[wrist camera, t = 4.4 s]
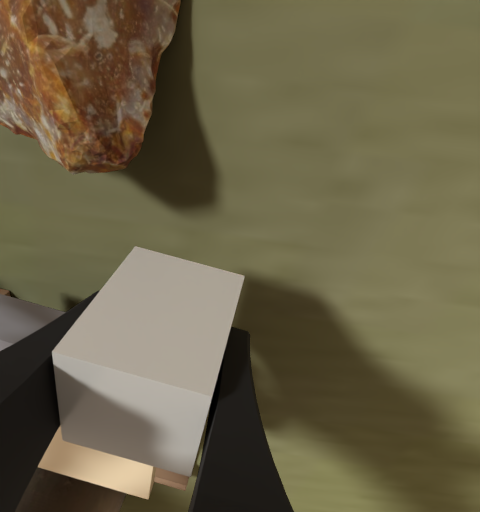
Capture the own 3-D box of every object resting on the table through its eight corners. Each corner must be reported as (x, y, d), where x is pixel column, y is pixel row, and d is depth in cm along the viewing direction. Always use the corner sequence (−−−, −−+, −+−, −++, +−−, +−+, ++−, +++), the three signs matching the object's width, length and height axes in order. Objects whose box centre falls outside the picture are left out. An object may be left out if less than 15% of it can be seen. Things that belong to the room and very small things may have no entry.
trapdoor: (-4, 401, 23) (-41, 445, 21) (-37, 283, 18) (-91, 324, 15) (165, 450, 23) (147, 500, 20) (183, 345, 17) (163, 396, 15)
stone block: (130, 326, 15) (62, 440, 11) (135, 246, 13) (51, 351, 9) (224, 351, 15) (190, 477, 11) (244, 276, 13) (212, 396, 9)
